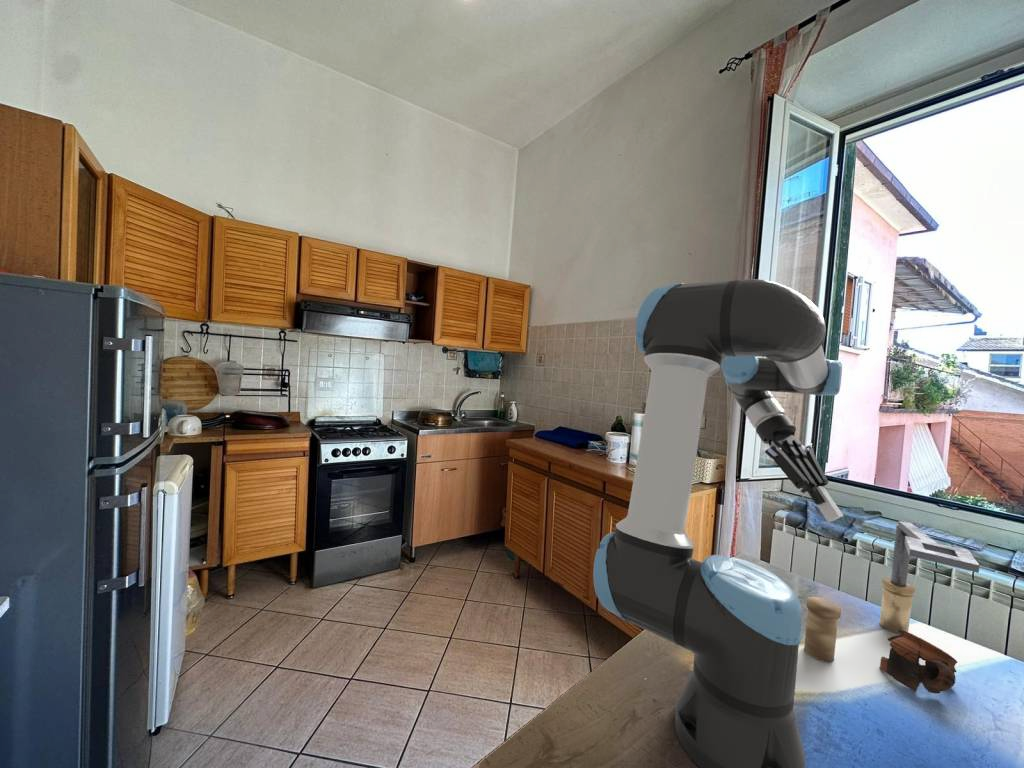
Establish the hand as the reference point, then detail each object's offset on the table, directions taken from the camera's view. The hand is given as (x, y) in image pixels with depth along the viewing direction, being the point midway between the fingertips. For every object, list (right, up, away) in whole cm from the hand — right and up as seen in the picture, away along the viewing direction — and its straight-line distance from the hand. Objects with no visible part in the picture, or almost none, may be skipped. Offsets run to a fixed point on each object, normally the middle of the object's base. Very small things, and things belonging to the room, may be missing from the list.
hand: (835, 518), depth 85 cm
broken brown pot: (+3, -23, -14) cm, 28 cm away
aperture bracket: (+9, -23, -7) cm, 26 cm away
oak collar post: (-10, -22, -9) cm, 25 cm away
